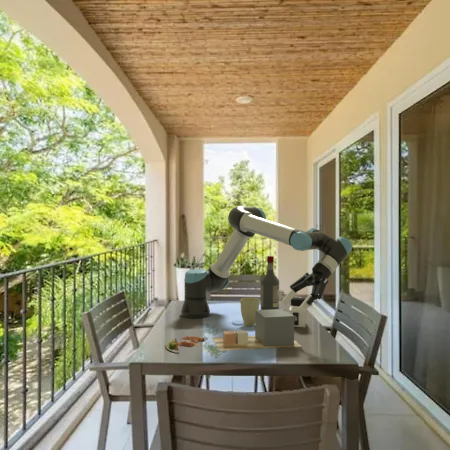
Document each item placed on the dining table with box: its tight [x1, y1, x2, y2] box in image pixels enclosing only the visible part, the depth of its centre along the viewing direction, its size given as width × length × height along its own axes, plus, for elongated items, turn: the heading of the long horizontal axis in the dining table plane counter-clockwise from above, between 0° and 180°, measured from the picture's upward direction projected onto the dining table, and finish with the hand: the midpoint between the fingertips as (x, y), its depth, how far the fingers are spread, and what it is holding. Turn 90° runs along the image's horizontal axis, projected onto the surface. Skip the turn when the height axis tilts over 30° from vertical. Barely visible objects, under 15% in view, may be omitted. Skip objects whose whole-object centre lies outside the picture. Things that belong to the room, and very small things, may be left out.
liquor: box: [260, 255, 280, 310], centre depth 210 cm, size 9×9×30 cm
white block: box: [234, 330, 249, 344], centre depth 148 cm, size 4×4×4 cm
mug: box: [239, 297, 260, 327], centre depth 180 cm, size 11×10×12 cm
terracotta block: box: [222, 330, 236, 345], centre depth 147 cm, size 4×4×4 cm
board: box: [212, 335, 303, 352], centre depth 149 cm, size 16×32×2 cm, turn 101°
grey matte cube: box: [254, 308, 295, 347], centre depth 150 cm, size 12×12×11 cm
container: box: [288, 296, 307, 328], centre depth 181 cm, size 8×8×13 cm
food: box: [165, 335, 206, 354], centre depth 147 cm, size 18×18×3 cm
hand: (292, 306), depth 152 cm, fingers open, 13 cm apart
